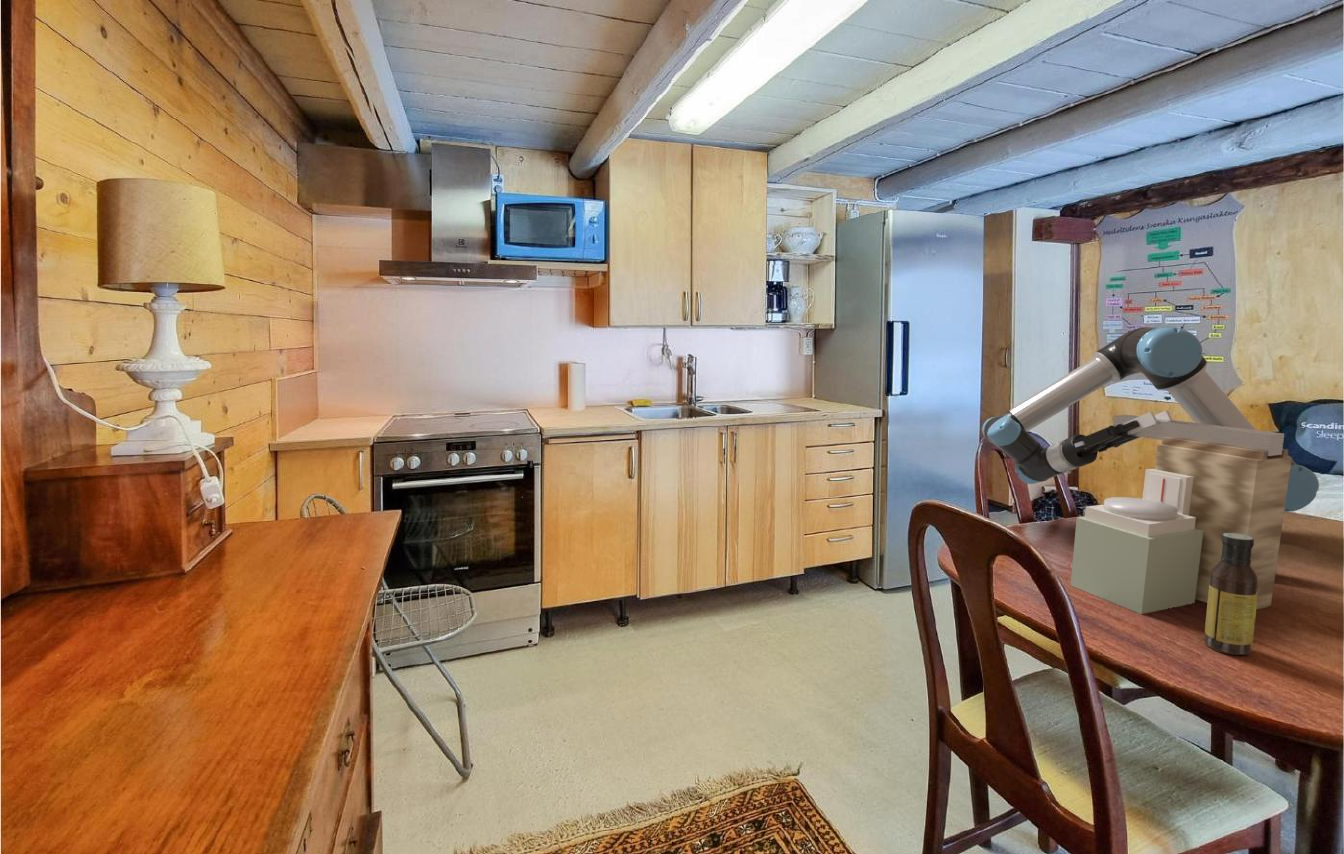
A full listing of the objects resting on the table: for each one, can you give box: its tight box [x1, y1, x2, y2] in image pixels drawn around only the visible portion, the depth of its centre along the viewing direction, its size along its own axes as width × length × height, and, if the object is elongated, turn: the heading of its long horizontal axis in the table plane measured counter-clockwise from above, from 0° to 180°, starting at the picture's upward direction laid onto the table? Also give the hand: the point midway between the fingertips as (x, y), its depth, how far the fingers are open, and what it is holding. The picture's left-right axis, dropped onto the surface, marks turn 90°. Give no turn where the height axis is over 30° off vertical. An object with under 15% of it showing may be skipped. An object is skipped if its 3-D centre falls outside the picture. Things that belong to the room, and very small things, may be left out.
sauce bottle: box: [1204, 533, 1258, 656], centre depth 109 cm, size 6×6×20 cm
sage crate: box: [1070, 516, 1203, 615], centre depth 132 cm, size 15×15×15 cm
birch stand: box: [1154, 437, 1293, 611], centre depth 131 cm, size 18×10×32 cm, turn 19°
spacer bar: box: [1112, 414, 1285, 456], centre depth 134 cm, size 30×4×4 cm, turn 19°
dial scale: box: [1084, 468, 1196, 537], centre depth 130 cm, size 13×15×10 cm
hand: (1161, 416), depth 139 cm, fingers closed on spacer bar, 4 cm apart
